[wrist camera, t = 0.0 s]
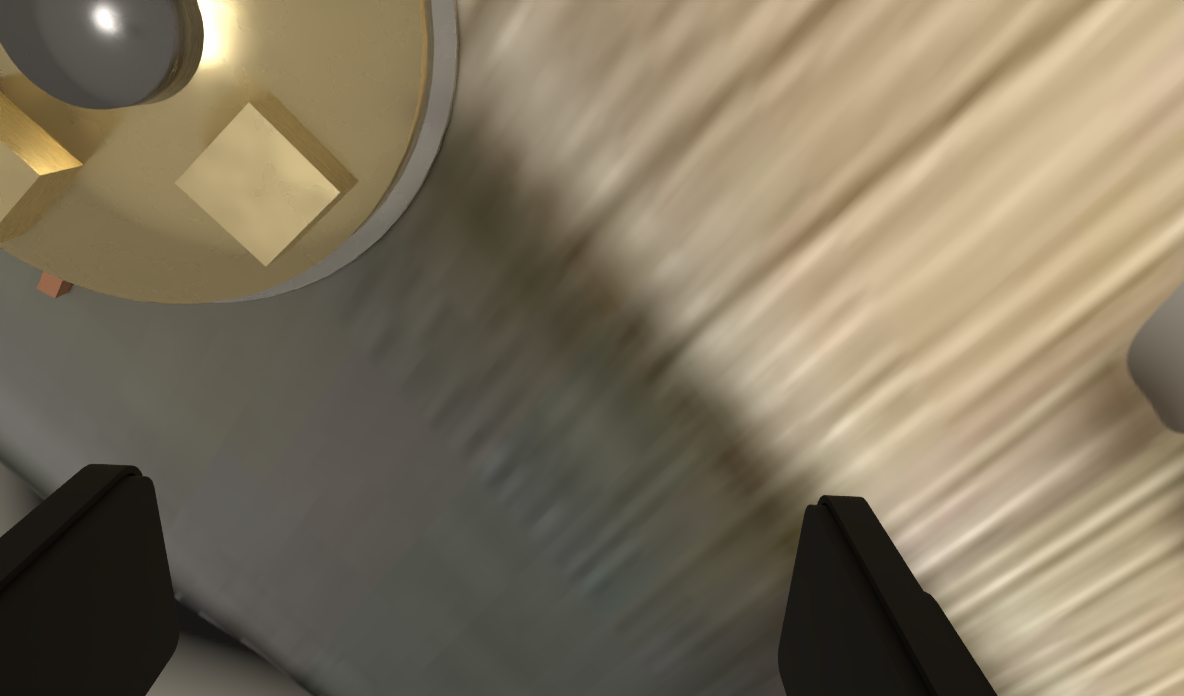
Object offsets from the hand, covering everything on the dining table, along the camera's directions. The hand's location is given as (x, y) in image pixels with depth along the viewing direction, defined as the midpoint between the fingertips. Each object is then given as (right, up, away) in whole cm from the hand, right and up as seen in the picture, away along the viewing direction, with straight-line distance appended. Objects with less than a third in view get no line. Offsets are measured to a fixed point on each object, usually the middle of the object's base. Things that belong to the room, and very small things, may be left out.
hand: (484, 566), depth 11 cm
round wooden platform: (-19, +19, +25) cm, 36 cm away
